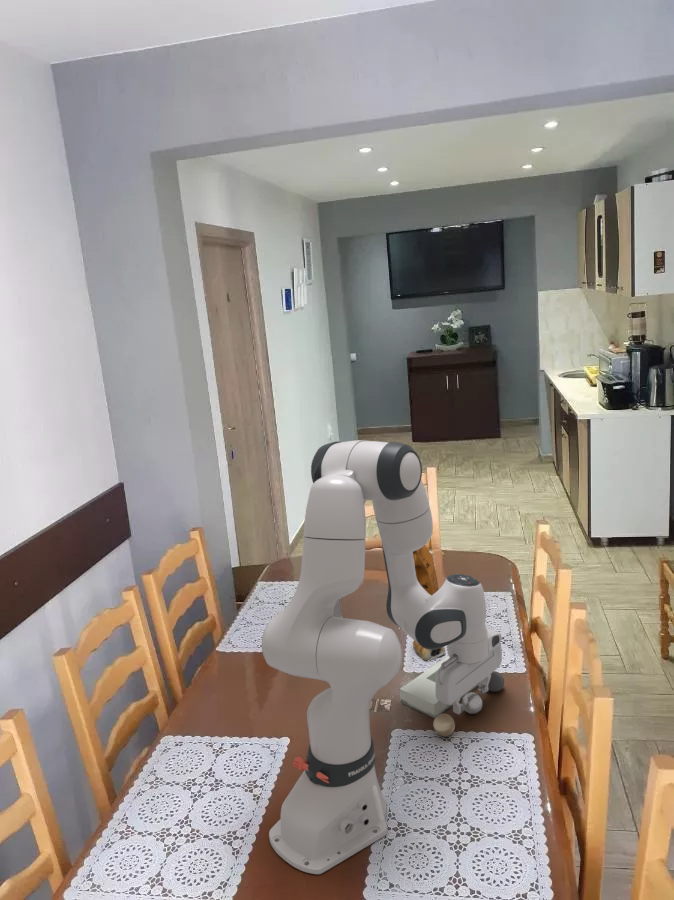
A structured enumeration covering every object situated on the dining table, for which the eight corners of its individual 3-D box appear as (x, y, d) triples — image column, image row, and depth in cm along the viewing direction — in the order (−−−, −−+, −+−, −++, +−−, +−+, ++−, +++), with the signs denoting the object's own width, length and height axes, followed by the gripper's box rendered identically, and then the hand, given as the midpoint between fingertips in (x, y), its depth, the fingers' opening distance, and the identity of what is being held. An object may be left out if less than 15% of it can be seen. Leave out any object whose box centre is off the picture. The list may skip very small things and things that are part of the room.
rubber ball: (497, 697, 164) (496, 680, 163) (480, 690, 167) (479, 673, 166) (508, 688, 167) (507, 671, 166) (492, 682, 170) (491, 665, 169)
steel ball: (475, 720, 156) (473, 702, 155) (458, 713, 160) (457, 695, 159) (487, 710, 159) (486, 692, 158) (470, 703, 163) (469, 685, 162)
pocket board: (435, 718, 159) (434, 704, 158) (400, 702, 166) (399, 688, 165) (487, 678, 172) (486, 665, 171) (453, 665, 179) (453, 652, 178)
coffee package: (402, 625, 201) (396, 552, 196) (408, 605, 213) (403, 535, 208) (438, 626, 199) (433, 552, 194) (442, 605, 210) (437, 535, 205)
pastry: (406, 647, 190) (405, 634, 189) (428, 640, 192) (427, 627, 191) (426, 663, 181) (425, 649, 180) (448, 655, 184) (447, 642, 183)
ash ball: (446, 743, 150) (445, 724, 149) (429, 735, 153) (428, 716, 152) (459, 733, 153) (458, 714, 152) (442, 725, 156) (441, 706, 155)
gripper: (450, 671, 147) (454, 730, 150) (505, 630, 161) (508, 685, 164) (426, 662, 152) (430, 719, 155) (481, 623, 165) (485, 676, 168)
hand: (471, 701), depth 160 cm, fingers open, 8 cm apart
